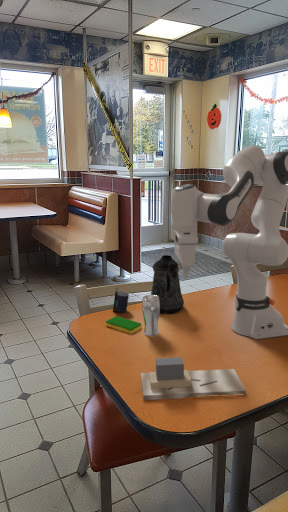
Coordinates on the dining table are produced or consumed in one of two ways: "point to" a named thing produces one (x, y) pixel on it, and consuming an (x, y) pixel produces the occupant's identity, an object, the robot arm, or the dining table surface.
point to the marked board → (197, 385)
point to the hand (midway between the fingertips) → (183, 273)
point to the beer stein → (167, 285)
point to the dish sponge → (123, 324)
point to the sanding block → (169, 374)
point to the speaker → (120, 301)
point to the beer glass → (151, 314)
